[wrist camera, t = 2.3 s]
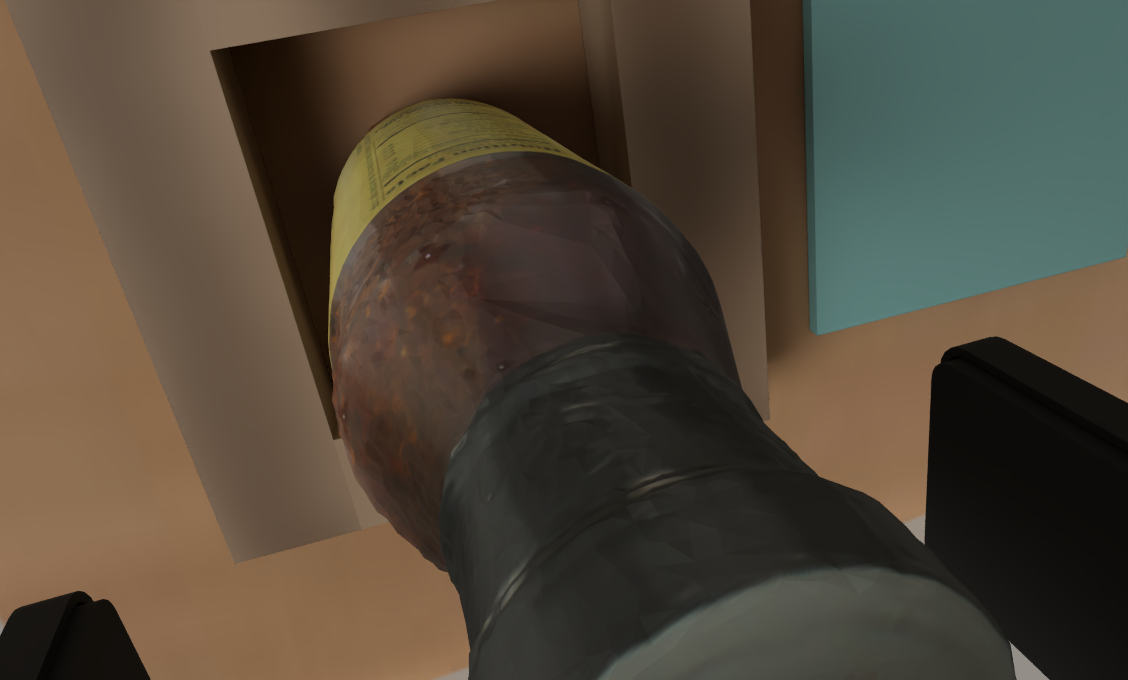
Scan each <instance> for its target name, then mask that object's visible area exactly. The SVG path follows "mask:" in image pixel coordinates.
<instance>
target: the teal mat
mask: <svg viewBox="0 0 1128 680" xmlns="http://www.w3.org/2000/svg"><path fill="white" fill-rule="evenodd" d="M802 1H803V46H804V91H805V136H806V182H807V227H808V272H809V317H810V330H811V331H812V332H813V333H815V334H816V335H817V336H818V335H822V334H826V333H830V332H833V331H837V330H841V329H845V328H849V327H853V326H857V325H861V324H865V323H869V322H873V321H876V320H880V319H884V318H888V317H892V316H896V315H900V314H904V313H908V312H912V311H916V310H920V309H923V308H927V307H931V306H935V305H939V304H943V303H947V302H951V301H955V300H959V299H963V298H967V297H970V296H974V295H978V294H982V293H986V292H990V291H994V290H998V289H1002V288H1006V287H1010V286H1014V285H1017V284H1021V283H1025V282H1029V281H1033V280H1037V279H1041V278H1045V277H1049V276H1053V275H1057V274H1061V273H1064V272H1068V271H1072V270H1076V269H1080V268H1084V267H1088V266H1092V265H1096V264H1100V263H1104V262H1108V261H1111V260H1115V259H1119V258H1123V257H1126V253H1127V247H1128V0H802Z"/></svg>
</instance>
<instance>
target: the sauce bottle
mask: <svg viewBox="0 0 1128 680" xmlns="http://www.w3.org/2000/svg"><path fill="white" fill-rule="evenodd" d="M328 343H329V354H330V361H331V366H332V378H333V383H334V385H333V394H332V402H333V405H334V409H335V412H336V417H337V420H338V430H339V435H340V437H341V438H342V440H343V442H344V446H345V451H346V454H347V457H348V460H349V463H350V466H351V468H352V471H353V474H354V476H355V479H356V481H357V482H358V483H359V485H360V486H361V488H362V489H363V490H364V492H365V494H366V495H367V497H368V499H369V500H370V502H371V504H372V505H373V507H374V508H375V510H376V511H377V512H378V513H379V514H381V515H382V516H384V517H385V518H386V519H387V520H388V521H389V522H390V523H391V524H392V526H393V527H394V529H395V530H396V531H397V533H398V534H400V535H401V536H402V537H403V538H405V539H406V540H407V541H408V542H409V543H411V544H412V545H413V546H414V547H416V548H417V549H418V550H419V551H420V553H421V554H422V555H423V557H424V558H425V559H427V560H429V561H430V562H432V563H434V565H435V566H436V567H437V568H438V569H439V570H441V571H444V572H448V573H449V576H450V579H451V581H452V583H453V584H454V585H455V587H456V589H457V591H458V593H459V595H460V601H461V605H462V609H463V613H464V618H465V622H466V627H467V633H468V639H469V645H470V650H471V651H470V653H469V677H468V680H1016V676H1015V670H1014V664H1013V657H1012V651H1011V645H1010V642H1009V641H1008V639H1007V638H1006V636H1005V634H1004V633H1003V631H1002V630H1001V628H1000V626H999V625H998V623H997V622H996V620H995V619H994V618H993V617H992V615H991V614H990V613H989V612H988V611H987V610H986V609H985V607H984V606H983V605H982V604H981V603H980V602H979V601H978V599H977V598H976V597H975V596H974V595H973V594H972V593H971V592H970V591H969V590H968V589H967V588H966V587H965V586H964V585H963V584H962V583H961V582H960V581H958V580H957V579H956V578H955V577H954V576H953V575H952V574H951V573H950V572H949V571H948V569H947V568H946V567H945V566H944V565H943V563H942V562H941V561H940V560H939V559H938V557H937V556H936V555H935V554H934V553H933V551H932V550H931V549H930V548H928V547H927V546H926V545H924V544H923V543H922V542H921V541H919V540H918V539H917V538H916V537H915V536H914V535H913V534H912V533H911V531H910V530H909V529H908V528H907V527H906V526H905V525H904V524H903V523H902V522H901V521H900V520H899V519H898V518H896V517H895V516H894V515H893V514H892V513H891V512H890V511H889V510H888V509H887V508H885V507H884V506H883V505H882V504H881V503H880V502H879V501H877V500H875V499H874V498H872V497H870V496H868V495H867V494H865V493H863V492H860V491H857V490H855V489H852V488H849V487H846V486H843V485H840V484H838V483H835V482H832V481H829V480H827V479H824V478H821V477H819V476H818V475H817V474H816V473H815V471H813V470H812V469H811V468H810V467H809V466H808V465H807V464H805V463H804V462H803V461H802V460H801V459H800V457H799V456H798V455H797V454H796V453H795V452H794V451H792V450H791V448H790V447H789V446H788V445H787V444H786V443H785V442H784V441H783V440H781V439H780V438H779V437H778V436H777V435H776V434H775V433H774V432H773V431H772V430H771V429H770V428H769V427H768V426H767V425H766V424H765V423H764V422H763V419H762V417H761V416H760V414H759V413H758V411H757V409H756V408H755V406H754V404H753V403H752V401H751V400H750V399H749V397H748V396H747V395H746V393H745V392H744V391H743V390H742V386H741V382H740V378H739V374H738V370H737V366H736V362H735V359H734V355H733V351H732V347H731V343H730V339H729V335H728V331H727V327H726V323H725V320H724V316H723V312H722V308H721V304H720V300H719V297H718V295H717V292H716V289H715V286H714V283H713V280H712V278H711V276H710V274H709V272H708V270H707V268H706V266H705V265H704V263H703V261H702V260H701V258H700V256H699V254H698V253H697V251H696V249H695V248H694V247H693V246H692V244H691V243H690V242H689V241H688V239H687V238H686V237H685V236H684V235H683V233H682V232H681V231H680V230H679V229H678V228H677V227H676V226H675V224H674V223H673V222H672V221H671V220H670V219H669V218H668V217H667V215H666V214H665V213H664V212H662V211H661V210H660V209H659V208H657V207H656V206H655V205H654V204H652V203H651V202H650V201H649V200H648V199H646V198H645V197H644V196H643V195H641V194H640V193H639V192H637V191H635V190H634V189H632V188H631V187H629V186H627V185H626V184H624V183H623V182H621V181H620V180H618V179H616V178H615V177H613V176H612V175H610V174H608V173H607V172H605V171H603V170H601V169H600V168H598V167H596V166H595V165H593V164H591V163H589V162H588V161H586V160H584V159H583V158H581V157H579V156H577V155H576V154H574V153H573V152H571V151H570V150H568V149H567V148H565V147H563V146H562V145H560V144H559V143H557V142H556V141H554V140H552V139H551V138H549V137H548V136H546V135H544V134H542V133H541V132H539V131H538V130H536V129H535V128H533V127H531V126H530V125H528V124H527V123H525V122H523V121H522V120H520V119H519V118H517V117H516V116H514V115H512V114H510V113H508V112H506V111H504V110H502V109H499V108H496V107H494V106H491V105H488V104H485V103H481V102H477V101H472V100H466V99H456V98H447V99H431V100H424V101H422V102H419V103H416V104H414V105H411V106H409V107H406V108H404V109H402V110H400V111H398V112H396V113H394V114H393V115H391V116H387V117H386V118H384V119H383V120H381V121H379V122H378V123H376V124H375V125H373V126H372V127H370V128H369V130H368V131H367V135H366V136H365V137H364V138H363V139H362V140H361V141H360V142H359V144H358V145H357V146H356V148H355V149H354V150H353V152H352V153H351V155H350V156H349V158H348V160H347V162H346V164H345V166H344V168H343V170H342V172H341V175H340V177H339V180H338V183H337V187H336V190H335V194H334V214H333V218H332V231H331V260H330V295H329V326H328Z"/></svg>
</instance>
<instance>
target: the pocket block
mask: <svg viewBox="0 0 1128 680" xmlns="http://www.w3.org/2000/svg"><path fill="white" fill-rule="evenodd" d="M490 1H495V0H5V2H6V5H7V7H8V10H9V12H10V15H11V17H12V20H13V22H14V24H15V27H16V29H17V32H18V34H19V37H20V39H21V42H22V44H23V46H24V49H25V51H26V54H27V56H28V59H29V61H30V64H31V66H32V68H33V71H34V73H35V76H36V78H37V81H38V83H39V86H40V88H41V90H42V93H43V95H44V98H45V100H46V103H47V105H48V108H49V110H50V112H51V115H52V117H53V120H54V122H55V125H56V127H57V130H58V132H59V134H60V137H61V139H62V142H63V144H64V147H65V149H66V152H67V154H68V156H69V159H70V161H71V164H72V166H73V169H74V171H75V174H76V176H77V178H78V181H79V183H80V186H81V188H82V191H83V193H84V196H85V198H86V201H87V203H88V205H89V208H90V210H91V213H92V215H93V218H94V220H95V223H96V225H97V227H98V230H99V232H100V235H101V237H102V240H103V242H104V245H105V247H106V249H107V252H108V254H109V257H110V259H111V262H112V264H113V267H114V269H115V271H116V274H117V276H118V279H119V281H120V284H121V286H122V289H123V291H124V293H125V296H126V298H127V301H128V303H129V306H130V308H131V311H132V313H133V315H134V318H135V320H136V323H137V325H138V328H139V330H140V333H141V335H142V337H143V340H144V342H145V345H146V347H147V350H148V352H149V355H150V357H151V359H152V362H153V364H154V367H155V369H156V372H157V374H158V377H159V379H160V381H161V384H162V386H163V389H164V391H165V394H166V396H167V399H168V401H169V404H170V406H171V408H172V411H173V413H174V416H175V418H176V421H177V423H178V426H179V428H180V430H181V433H182V435H183V438H184V440H185V443H186V445H187V448H188V450H189V452H190V455H191V457H192V460H193V462H194V465H195V467H196V470H197V472H198V474H199V477H200V479H201V482H202V484H203V487H204V489H205V492H206V494H207V496H208V499H209V501H210V504H211V506H212V509H213V511H214V514H215V516H216V518H217V521H218V523H219V526H220V528H221V531H222V533H223V536H224V538H225V540H226V543H227V545H228V548H229V550H230V553H231V555H232V558H233V560H234V562H235V564H236V563H240V562H243V561H247V560H251V559H254V558H258V557H262V556H265V555H269V554H273V553H277V552H280V551H284V550H288V549H291V548H295V547H299V546H302V545H306V544H310V543H314V542H317V541H321V540H325V539H328V538H332V537H336V536H340V535H343V534H347V533H351V532H354V531H358V530H362V529H365V528H369V527H373V526H377V525H380V524H384V523H388V522H389V521H388V520H387V519H386V518H385V517H384V516H382V515H381V514H379V513H378V512H377V511H376V510H375V508H374V507H373V505H372V504H371V502H370V500H369V499H368V497H367V495H366V494H365V492H364V490H363V489H362V488H361V486H360V485H359V483H358V482H357V481H356V479H355V476H354V474H353V471H352V468H351V466H350V463H349V460H348V457H347V454H346V451H345V446H344V442H343V440H342V438H341V437H340V435H339V430H338V420H337V417H336V412H335V409H334V405H333V402H332V394H333V386H332V382H331V379H330V376H329V373H328V369H327V366H326V363H325V360H324V356H323V353H322V350H321V347H320V343H319V340H318V337H317V334H316V330H315V327H314V324H313V321H312V317H311V314H310V311H309V308H308V304H307V301H306V298H305V295H304V291H303V288H302V285H301V282H300V278H299V275H298V272H297V269H296V265H295V262H294V259H293V256H292V252H291V249H290V246H289V242H288V239H287V236H286V233H285V229H284V226H283V223H282V220H281V216H280V213H279V210H278V207H277V203H276V200H275V197H274V194H273V190H272V187H271V184H270V181H269V177H268V174H267V171H266V168H265V164H264V161H263V158H262V155H261V151H260V148H259V145H258V142H257V138H256V135H255V132H254V129H253V125H252V122H251V119H250V116H249V112H248V109H247V106H246V103H245V99H244V96H243V93H242V90H241V86H240V83H239V80H238V77H237V73H236V70H235V67H234V64H233V60H232V57H231V54H230V51H229V47H233V46H239V45H244V44H250V43H256V42H262V41H267V40H273V39H279V38H284V37H290V36H296V35H301V34H307V33H313V32H319V31H324V30H330V29H336V28H341V27H347V26H353V25H359V24H364V23H370V22H376V21H381V20H387V19H393V18H398V17H404V16H410V15H416V14H421V13H427V12H433V11H438V10H444V9H450V8H455V7H461V6H467V5H473V4H478V3H484V2H490ZM578 3H579V10H580V18H581V26H582V33H583V41H584V49H585V56H586V64H587V72H588V79H589V87H590V95H591V102H592V110H593V117H594V125H595V133H596V140H597V148H598V156H599V163H600V169H601V170H603V171H605V172H607V173H608V174H610V175H612V176H613V177H615V178H616V179H618V180H620V181H621V182H623V183H624V184H626V185H627V186H629V187H631V188H632V189H634V190H635V191H637V192H639V193H640V194H641V195H643V196H644V197H645V198H646V199H648V200H649V201H650V202H651V203H652V204H654V205H655V206H656V207H657V208H659V209H660V210H661V211H662V212H664V213H665V214H666V215H667V217H668V218H669V219H670V220H671V221H672V222H673V223H674V224H675V226H676V227H677V228H678V229H679V230H680V231H681V232H682V233H683V235H684V236H685V237H686V238H687V239H688V241H689V242H690V243H691V244H692V246H693V247H694V248H695V249H696V251H697V253H698V254H699V256H700V258H701V260H702V261H703V263H704V265H705V266H706V268H707V270H708V272H709V274H710V276H711V278H712V280H713V283H714V286H715V289H716V292H717V295H718V297H719V300H720V304H721V308H722V312H723V316H724V320H725V323H726V327H727V331H728V335H729V339H730V343H731V347H732V351H733V355H734V359H735V362H736V366H737V370H738V374H739V378H740V382H741V386H742V390H743V391H744V392H745V393H746V395H747V396H748V397H749V399H750V400H751V401H752V403H753V404H754V406H755V408H756V409H757V411H758V413H759V414H760V416H761V417H762V419H763V421H766V420H769V419H770V412H769V391H768V370H767V349H766V328H765V307H764V286H763V265H762V244H761V223H760V202H759V181H758V160H757V139H756V118H755V97H754V76H753V55H752V34H751V13H750V0H578Z"/></svg>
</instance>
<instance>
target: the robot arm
mask: <svg viewBox="0 0 1128 680" xmlns="http://www.w3.org/2000/svg"><path fill="white" fill-rule="evenodd" d="M925 545H926V546H927V547H928V548H930V549H931V550H932V551H933V553H934V554H935V555H936V556H937V557H938V559H939V560H940V561H941V562H942V563H943V565H944V566H945V567H946V568H947V569H948V571H949V572H950V573H951V574H952V575H953V576H954V577H955V578H956V579H957V580H958V581H960V582H961V583H962V584H963V585H964V586H965V587H966V588H967V589H968V590H969V591H970V592H971V593H972V594H973V595H974V596H975V597H976V598H977V599H978V601H979V602H980V603H981V604H982V605H983V606H984V607H985V609H986V610H987V611H988V612H989V613H990V614H991V615H992V617H993V618H994V619H995V620H996V622H997V623H998V625H999V626H1000V628H1001V630H1002V631H1003V633H1004V634H1005V636H1006V638H1007V639H1008V640H1009V641H1010V642H1011V643H1012V644H1013V645H1014V646H1015V647H1016V648H1017V649H1018V650H1019V651H1020V652H1021V653H1022V654H1023V655H1024V656H1025V657H1027V659H1028V660H1030V661H1031V662H1032V663H1033V664H1034V665H1035V666H1036V667H1037V668H1038V669H1039V670H1040V671H1041V672H1042V673H1043V674H1044V675H1045V676H1046V677H1047V678H1048V679H1049V680H1128V403H1127V402H1125V401H1123V400H1121V399H1119V398H1117V397H1115V396H1113V395H1111V394H1109V393H1107V392H1105V391H1104V390H1102V389H1100V388H1098V387H1096V386H1094V385H1092V384H1090V383H1088V382H1086V381H1084V380H1082V379H1080V378H1079V377H1077V376H1075V375H1073V374H1071V373H1069V372H1067V371H1065V370H1063V369H1061V368H1059V367H1057V366H1056V365H1054V364H1052V363H1050V362H1048V361H1046V360H1044V359H1042V358H1040V357H1038V356H1036V355H1034V354H1032V353H1031V352H1029V351H1027V350H1025V349H1023V348H1021V347H1019V346H1017V345H1015V344H1013V343H1011V342H1009V341H1007V340H1006V339H1003V338H1000V337H997V336H996V337H988V338H985V339H981V340H978V341H974V342H970V343H967V344H963V345H960V346H956V347H952V348H950V349H948V350H947V351H946V352H945V353H944V355H943V357H942V358H941V363H940V364H938V365H937V366H935V368H934V370H933V373H932V380H931V403H930V426H929V449H928V473H927V496H926V519H925ZM0 680H151V679H150V677H149V675H148V673H147V671H146V669H145V667H144V665H143V663H142V661H141V659H140V657H139V655H138V653H137V651H136V649H135V647H134V645H133V643H132V641H131V639H130V637H129V635H128V633H127V631H126V629H125V627H124V625H123V623H122V621H121V619H120V617H119V615H118V613H117V611H116V609H115V608H114V606H113V604H112V603H111V602H110V601H108V600H106V599H102V600H98V601H95V602H93V600H92V598H91V597H90V596H89V595H88V594H86V593H85V592H82V591H76V592H73V593H69V594H65V595H62V596H58V597H55V598H51V599H47V600H44V601H40V602H37V603H33V604H29V605H26V606H22V607H20V608H18V609H16V610H14V612H13V613H12V614H11V616H10V617H9V619H8V621H7V623H6V625H5V627H4V629H3V631H2V633H1V635H0Z"/></svg>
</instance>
